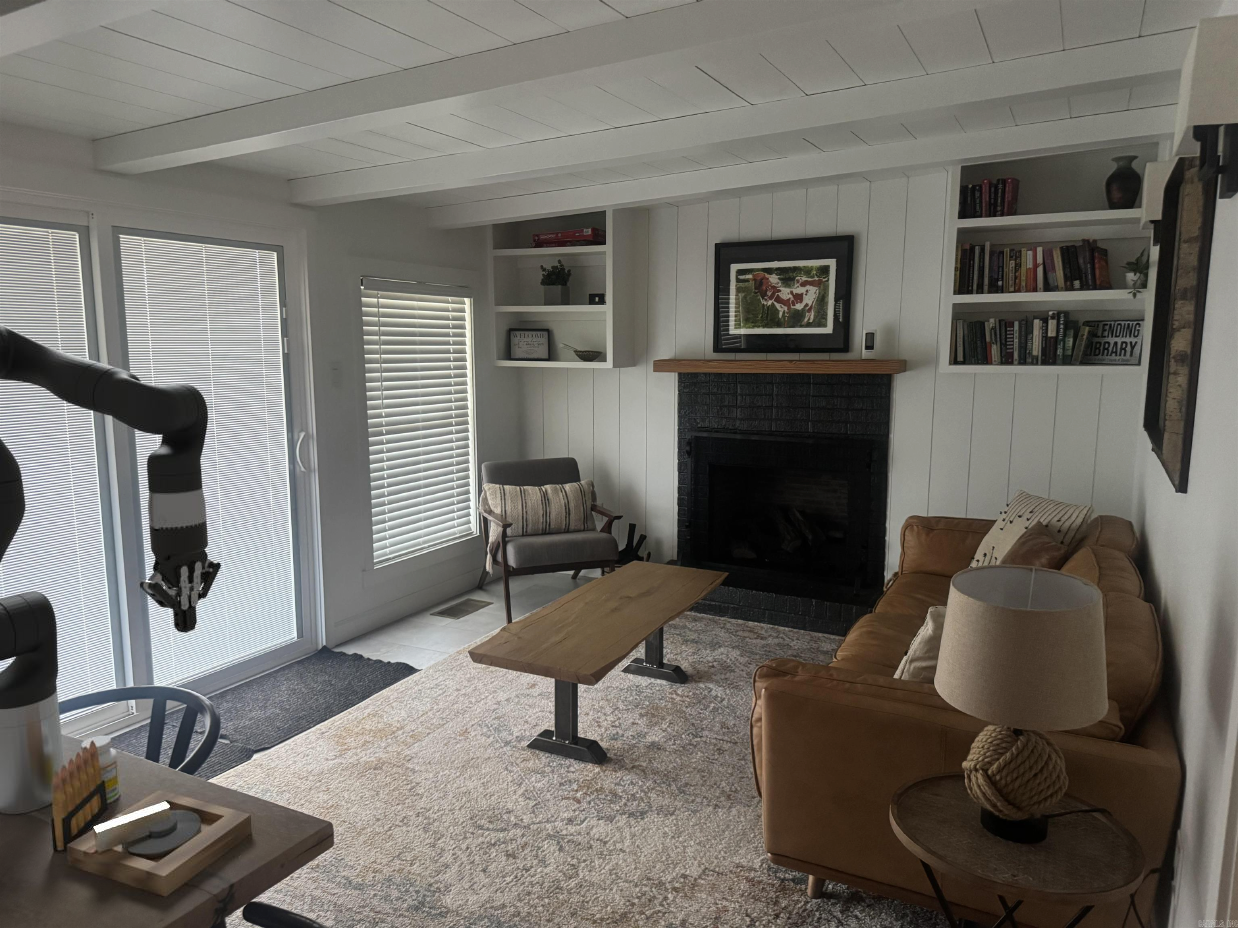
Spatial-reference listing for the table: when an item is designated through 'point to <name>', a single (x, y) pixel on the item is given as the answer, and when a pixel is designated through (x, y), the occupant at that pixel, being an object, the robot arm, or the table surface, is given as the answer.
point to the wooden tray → (178, 867)
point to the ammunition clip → (77, 798)
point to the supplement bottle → (107, 765)
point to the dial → (149, 831)
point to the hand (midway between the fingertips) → (185, 630)
